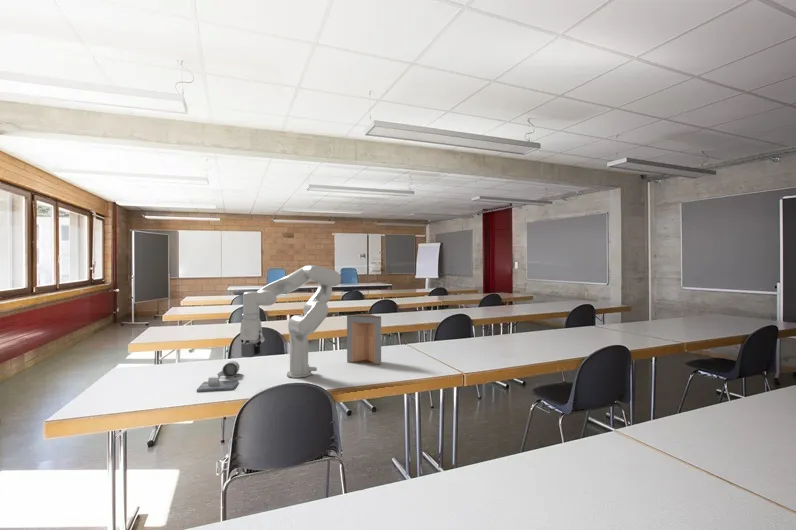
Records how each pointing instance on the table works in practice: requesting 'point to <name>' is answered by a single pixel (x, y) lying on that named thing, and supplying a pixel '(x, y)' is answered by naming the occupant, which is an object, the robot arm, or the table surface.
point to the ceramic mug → (229, 369)
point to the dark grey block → (249, 349)
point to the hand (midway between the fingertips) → (252, 353)
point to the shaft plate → (217, 385)
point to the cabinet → (364, 339)
